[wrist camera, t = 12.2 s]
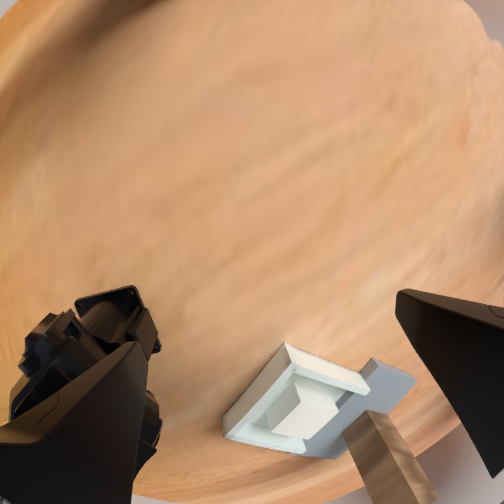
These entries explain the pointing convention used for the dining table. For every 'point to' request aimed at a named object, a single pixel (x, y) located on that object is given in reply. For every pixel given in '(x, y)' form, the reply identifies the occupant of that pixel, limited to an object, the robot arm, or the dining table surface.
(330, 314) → the dining table surface
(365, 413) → the walnut block
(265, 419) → the tray
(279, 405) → the tile
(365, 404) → the board
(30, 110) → the dining table surface
